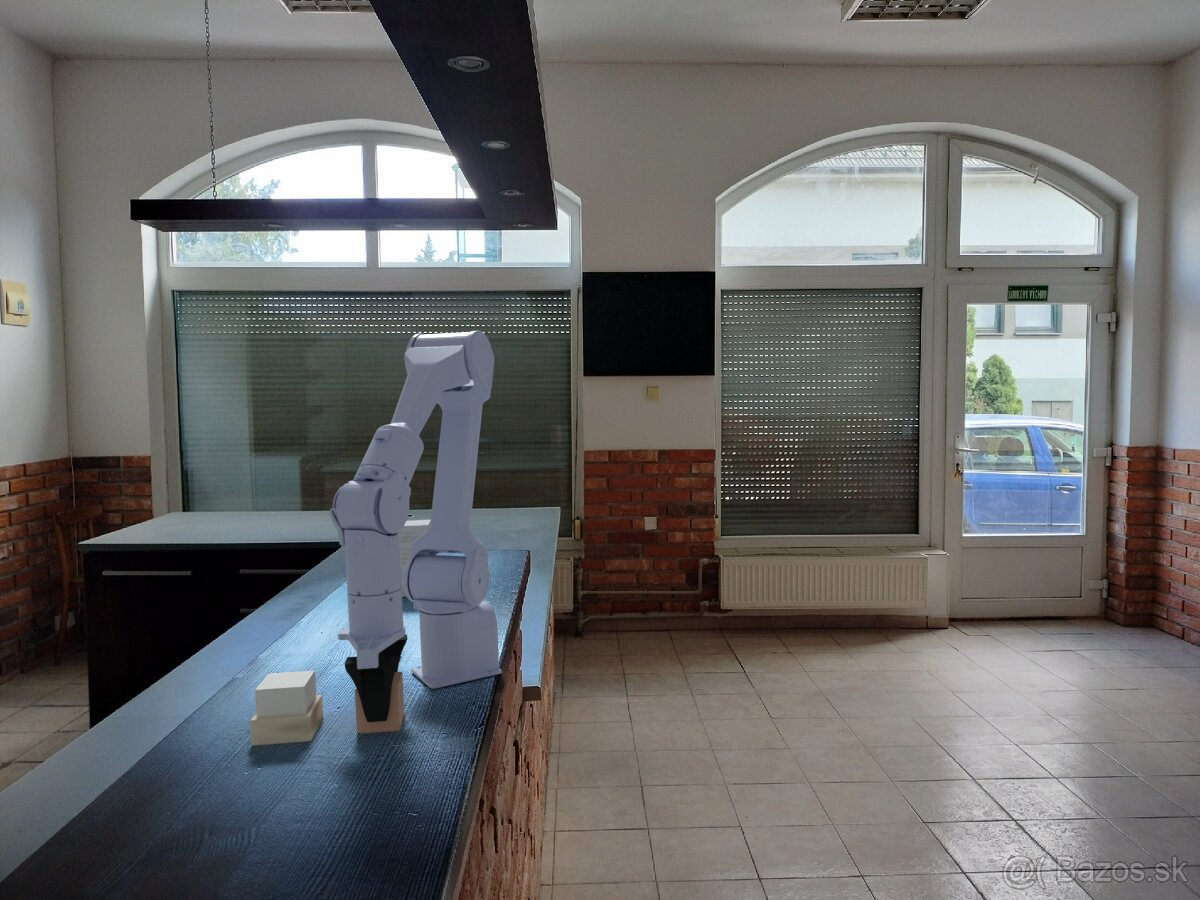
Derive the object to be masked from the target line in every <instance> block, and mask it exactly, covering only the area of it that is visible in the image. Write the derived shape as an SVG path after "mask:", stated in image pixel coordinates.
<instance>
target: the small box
mask: <svg viewBox="0 0 1200 900" xmlns="http://www.w3.org/2000/svg"><path fill="white" fill-rule="evenodd" d="M430 522H431V519H417V520H407V521H406V523H405V525H404V526H403V528H402V529H401V530H400V531H399V547H400V568H401V588H402V598H407V596H406V594H405V591H404V588H403V572H404V569H405V566H406V564H407V562H408V559H409V556H410V551H411V544H412V543H413V542H414V541H415V540H416V539H418V538H419V537H420V536H421V535H423V534H424V533H425V532H426V531H428V530H429V529H430Z"/></svg>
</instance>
